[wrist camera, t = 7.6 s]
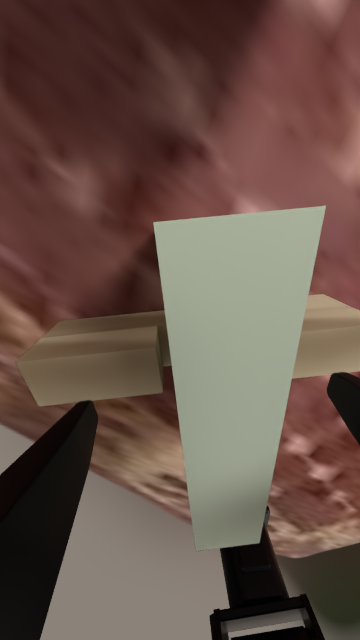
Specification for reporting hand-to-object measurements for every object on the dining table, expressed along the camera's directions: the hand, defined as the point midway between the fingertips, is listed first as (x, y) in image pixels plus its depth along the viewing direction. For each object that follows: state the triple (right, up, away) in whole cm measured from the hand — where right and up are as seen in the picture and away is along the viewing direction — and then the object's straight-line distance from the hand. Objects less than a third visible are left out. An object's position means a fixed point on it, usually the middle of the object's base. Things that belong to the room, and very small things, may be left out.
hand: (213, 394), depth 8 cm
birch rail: (0, +2, +5) cm, 6 cm away
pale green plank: (0, +2, +5) cm, 6 cm away
